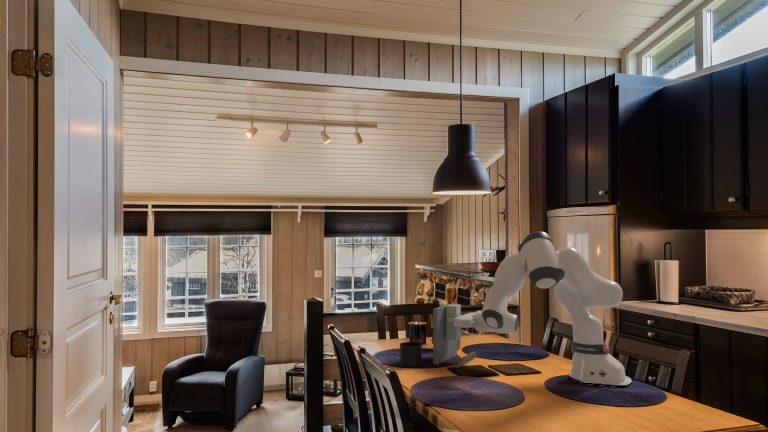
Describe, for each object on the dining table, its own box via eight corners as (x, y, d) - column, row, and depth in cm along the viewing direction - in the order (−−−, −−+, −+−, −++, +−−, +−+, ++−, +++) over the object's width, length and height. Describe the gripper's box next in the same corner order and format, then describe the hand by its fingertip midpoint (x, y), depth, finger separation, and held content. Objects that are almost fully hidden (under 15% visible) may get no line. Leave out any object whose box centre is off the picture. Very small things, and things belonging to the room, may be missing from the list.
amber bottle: (454, 351, 254) (454, 289, 255) (436, 349, 260) (436, 288, 261) (464, 348, 262) (463, 287, 263) (446, 345, 268) (446, 286, 269)
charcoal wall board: (476, 357, 243) (476, 304, 244) (458, 367, 224) (457, 310, 225) (453, 354, 249) (453, 303, 250) (433, 364, 230) (433, 308, 231)
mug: (414, 360, 237) (414, 340, 237) (425, 366, 226) (425, 345, 226) (394, 361, 234) (394, 341, 234) (404, 368, 223) (404, 346, 223)
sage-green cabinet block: (460, 338, 238) (460, 305, 238) (456, 340, 233) (456, 306, 234) (450, 337, 240) (450, 304, 241) (446, 339, 236) (445, 305, 236)
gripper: (472, 332, 222) (442, 329, 229) (488, 324, 239) (460, 322, 246) (472, 317, 222) (442, 314, 229) (488, 310, 240) (459, 308, 246)
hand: (451, 318), depth 238 cm, fingers closed on sage-green cabinet block, 5 cm apart
